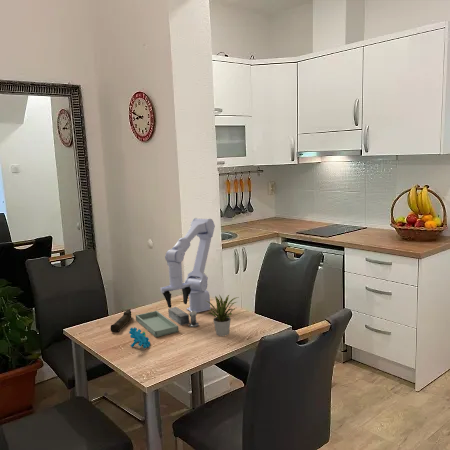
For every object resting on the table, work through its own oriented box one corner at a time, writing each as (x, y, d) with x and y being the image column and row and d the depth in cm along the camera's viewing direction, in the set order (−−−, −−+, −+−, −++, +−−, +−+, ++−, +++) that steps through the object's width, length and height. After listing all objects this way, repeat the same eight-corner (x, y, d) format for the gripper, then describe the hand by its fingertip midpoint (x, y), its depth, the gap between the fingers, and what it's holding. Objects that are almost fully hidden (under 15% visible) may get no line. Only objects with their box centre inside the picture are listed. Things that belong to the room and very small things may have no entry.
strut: (176, 315, 212) (176, 306, 211) (189, 323, 200) (188, 314, 200) (168, 316, 210) (168, 308, 209) (180, 325, 198) (180, 316, 198)
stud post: (196, 322, 201) (195, 308, 200) (200, 325, 197) (199, 310, 196) (187, 325, 198) (186, 310, 197) (191, 328, 195) (190, 313, 194)
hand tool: (119, 333, 193) (118, 323, 192) (110, 333, 194) (109, 322, 193) (136, 318, 211) (136, 308, 211) (128, 317, 212) (128, 308, 212)
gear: (145, 348, 172) (127, 329, 173) (135, 359, 172) (117, 340, 174) (155, 340, 182) (138, 323, 184) (145, 351, 183) (128, 333, 184)
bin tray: (157, 315, 212) (156, 310, 212) (178, 331, 191) (178, 326, 191) (136, 320, 207) (135, 315, 207) (155, 337, 186) (155, 331, 186)
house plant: (250, 332, 187) (248, 294, 184) (227, 343, 177) (225, 303, 174) (224, 325, 196) (222, 288, 194) (201, 335, 186) (199, 296, 184)
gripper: (163, 280, 195) (165, 311, 197) (194, 275, 202) (196, 304, 204) (157, 277, 201) (159, 306, 203) (187, 271, 209) (189, 300, 211)
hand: (177, 305), depth 204 cm, fingers open, 7 cm apart
